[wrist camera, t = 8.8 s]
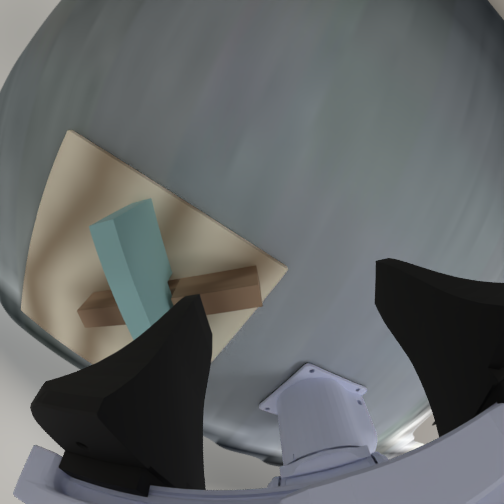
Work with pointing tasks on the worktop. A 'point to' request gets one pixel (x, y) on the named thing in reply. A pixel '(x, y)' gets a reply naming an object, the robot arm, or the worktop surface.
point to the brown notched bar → (208, 286)
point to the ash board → (86, 258)
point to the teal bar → (135, 264)
